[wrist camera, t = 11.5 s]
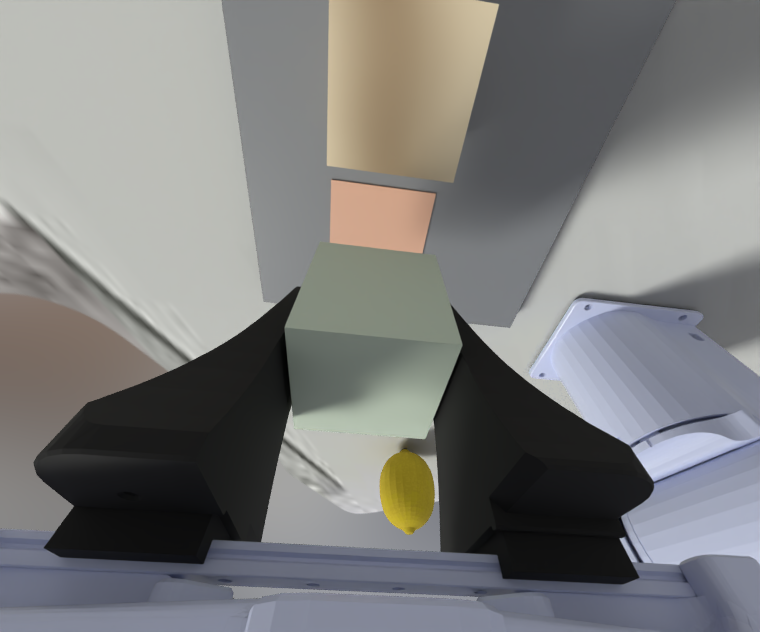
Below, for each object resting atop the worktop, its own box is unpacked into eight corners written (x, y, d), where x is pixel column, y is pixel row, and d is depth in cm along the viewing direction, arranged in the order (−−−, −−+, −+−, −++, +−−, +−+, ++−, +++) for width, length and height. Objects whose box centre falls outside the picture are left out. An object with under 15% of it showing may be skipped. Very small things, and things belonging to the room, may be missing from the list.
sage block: (435, 255, 11) (462, 345, 7) (413, 339, 14) (425, 439, 10) (319, 241, 11) (284, 327, 7) (320, 330, 14) (294, 429, 10)
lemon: (402, 466, 36) (406, 547, 30) (369, 448, 34) (366, 533, 27) (439, 450, 34) (452, 535, 27) (406, 429, 31) (412, 517, 25)
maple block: (460, 31, 12) (499, 4, 8) (434, 156, 14) (453, 183, 10) (348, 12, 11) (329, -27, 7) (342, 143, 14) (326, 165, 10)
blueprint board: (709, -110, 10) (745, -132, 9) (504, 317, 22) (510, 328, 21) (206, -218, 9) (184, -256, 8) (269, 291, 21) (263, 302, 20)
